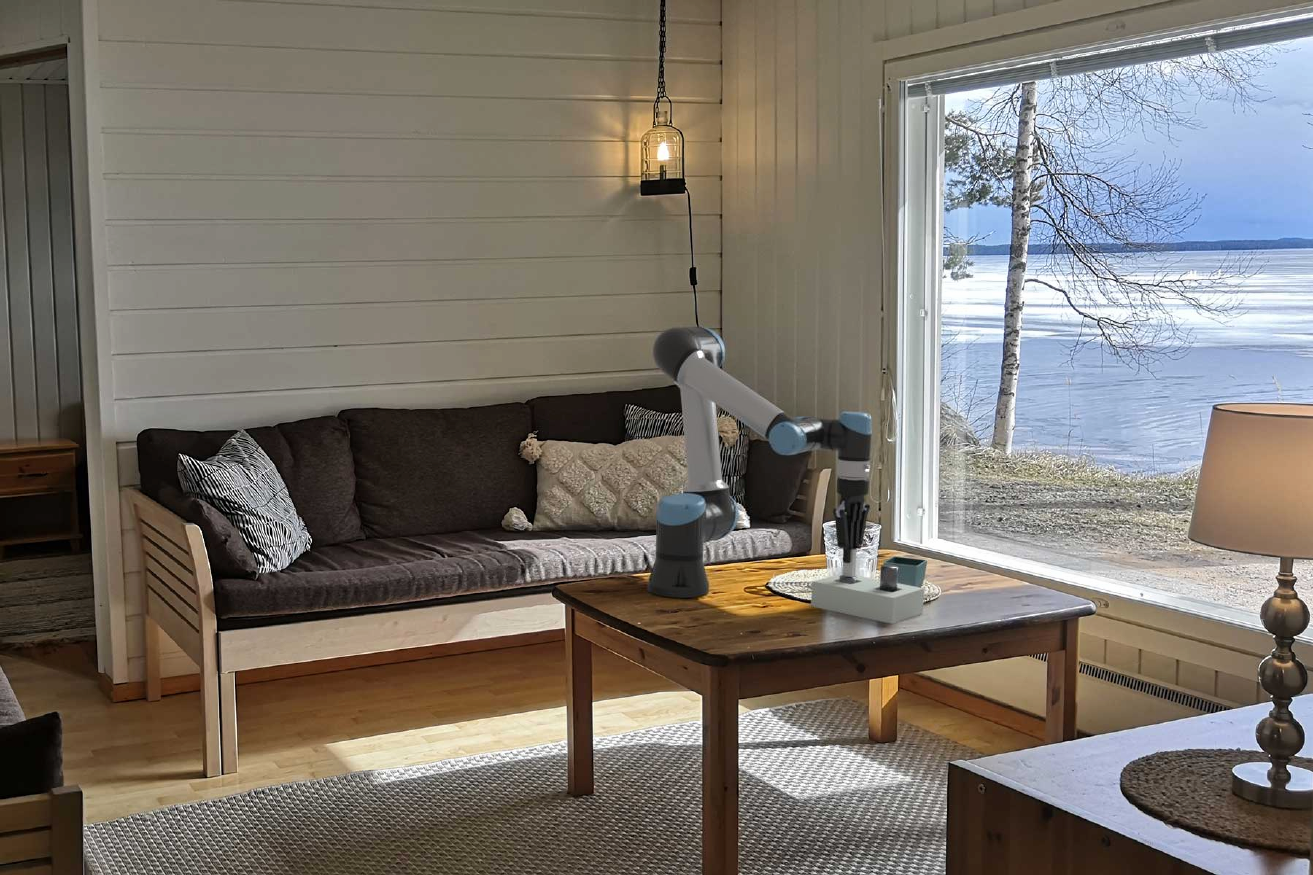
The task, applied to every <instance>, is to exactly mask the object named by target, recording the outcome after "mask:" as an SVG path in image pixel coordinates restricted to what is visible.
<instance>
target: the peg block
mask: <svg viewBox="0 0 1313 875" xmlns="http://www.w3.org/2000/svg"><path fill="white" fill-rule="evenodd" d="M840 575H842V572H841V573H838V574H834V575H829V576H827V577H824V578H820V579H819V578H818V579H816V580H813V581H812V582H811V599H810V600H811V601H810V607H814V608H817V609H818V608H819V609H822V610H826V611H827V610H828V611H831V612H835V613H836V612H837V613H842V614H845V615H850V616H853V617H859V618H864V619H869V620H874V621H878V622H881V623H886V624H892V625H893V624H895V623H896V624H897V623H900V622H902V621H905V620H907V619H911V618H913V617H916V616H918V615H922V614H923V613H924V601H925V600H924V598H925V588H924V587H921V588H919V587H914V586H909V585H904V584H899V583H897V591H896V592H887V591H882V590H880V579H877V578H873V577H868V576H863V575H858V574H857V575H856V574H855V576H856V577H857V579H856V583H854V584H847V583H842V582H839V579H840Z"/></svg>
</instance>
